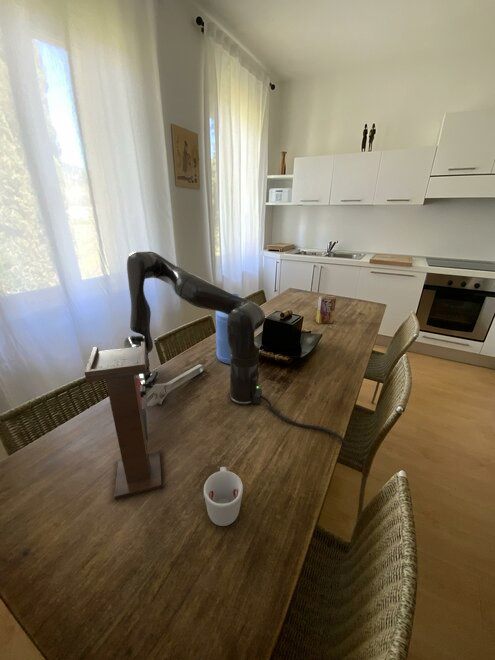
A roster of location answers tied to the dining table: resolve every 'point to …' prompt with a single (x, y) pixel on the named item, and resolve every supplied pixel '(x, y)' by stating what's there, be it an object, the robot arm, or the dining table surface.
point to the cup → (223, 496)
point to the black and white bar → (143, 411)
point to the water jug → (222, 337)
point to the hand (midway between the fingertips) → (136, 395)
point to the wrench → (170, 385)
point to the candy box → (326, 309)
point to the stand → (127, 417)
